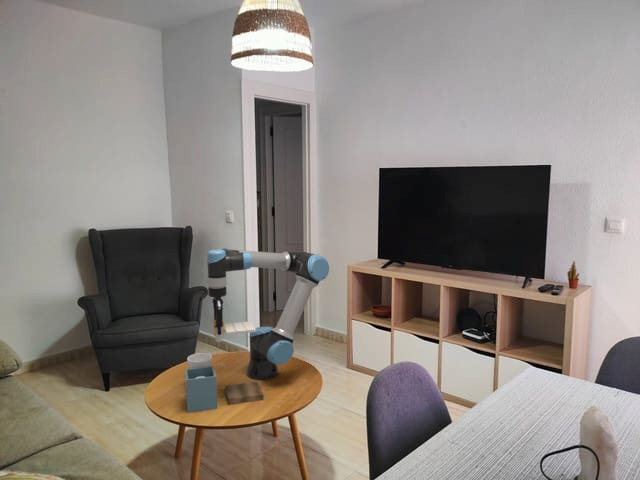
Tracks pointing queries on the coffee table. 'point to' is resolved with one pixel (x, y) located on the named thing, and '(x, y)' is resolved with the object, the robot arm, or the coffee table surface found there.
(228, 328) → the lid
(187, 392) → the tub
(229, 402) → the board
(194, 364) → the cup
